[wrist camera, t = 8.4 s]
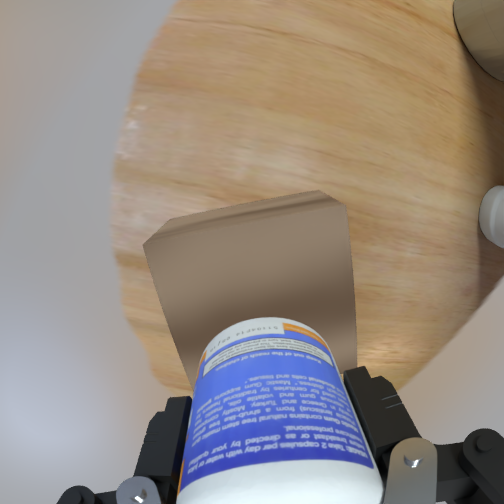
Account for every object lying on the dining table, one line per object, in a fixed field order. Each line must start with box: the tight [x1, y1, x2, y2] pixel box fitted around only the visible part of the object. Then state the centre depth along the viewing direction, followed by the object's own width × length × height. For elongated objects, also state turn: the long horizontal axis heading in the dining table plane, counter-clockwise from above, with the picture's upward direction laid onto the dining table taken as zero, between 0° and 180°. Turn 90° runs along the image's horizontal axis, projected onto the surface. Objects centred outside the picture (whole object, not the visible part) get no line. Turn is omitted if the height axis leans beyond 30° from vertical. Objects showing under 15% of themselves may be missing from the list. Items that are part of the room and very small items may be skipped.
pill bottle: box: [176, 317, 385, 504], centre depth 8 cm, size 5×5×10 cm
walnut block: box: [143, 190, 357, 391], centre depth 19 cm, size 10×10×6 cm
